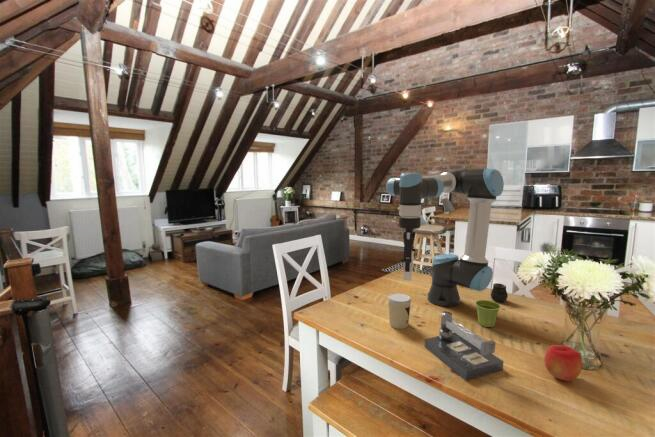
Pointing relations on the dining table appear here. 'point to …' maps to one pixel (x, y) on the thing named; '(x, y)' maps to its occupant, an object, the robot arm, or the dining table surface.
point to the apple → (563, 362)
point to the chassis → (462, 355)
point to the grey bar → (466, 334)
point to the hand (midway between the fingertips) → (408, 273)
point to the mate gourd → (499, 292)
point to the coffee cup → (399, 310)
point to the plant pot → (487, 312)
